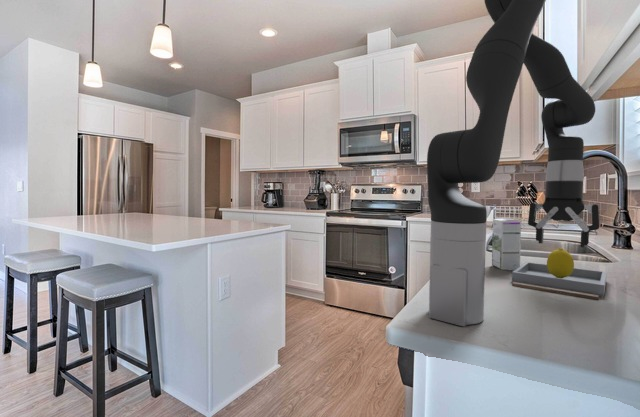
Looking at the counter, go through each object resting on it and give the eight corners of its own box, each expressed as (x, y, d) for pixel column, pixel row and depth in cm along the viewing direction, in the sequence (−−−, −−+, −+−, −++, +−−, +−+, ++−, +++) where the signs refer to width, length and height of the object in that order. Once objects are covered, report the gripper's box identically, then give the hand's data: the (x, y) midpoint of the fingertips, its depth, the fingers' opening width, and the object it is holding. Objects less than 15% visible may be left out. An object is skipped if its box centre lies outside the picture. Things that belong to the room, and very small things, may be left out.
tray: (603, 296, 73) (604, 285, 73) (512, 281, 85) (512, 272, 84) (606, 281, 85) (606, 271, 85) (525, 270, 97) (526, 261, 97)
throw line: (598, 299, 71) (598, 297, 71) (512, 285, 81) (512, 283, 81) (598, 298, 72) (598, 295, 72) (513, 284, 83) (513, 281, 83)
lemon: (578, 283, 82) (579, 250, 81) (552, 282, 83) (553, 249, 82) (566, 277, 87) (567, 246, 87) (542, 276, 88) (543, 246, 88)
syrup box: (521, 270, 97) (522, 220, 96) (500, 270, 97) (501, 219, 97) (510, 265, 103) (511, 218, 102) (490, 265, 103) (492, 218, 102)
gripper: (527, 179, 85) (525, 243, 86) (600, 178, 76) (597, 250, 77) (533, 180, 91) (530, 240, 92) (602, 180, 81) (598, 246, 82)
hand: (561, 245), depth 84 cm, fingers open, 8 cm apart
